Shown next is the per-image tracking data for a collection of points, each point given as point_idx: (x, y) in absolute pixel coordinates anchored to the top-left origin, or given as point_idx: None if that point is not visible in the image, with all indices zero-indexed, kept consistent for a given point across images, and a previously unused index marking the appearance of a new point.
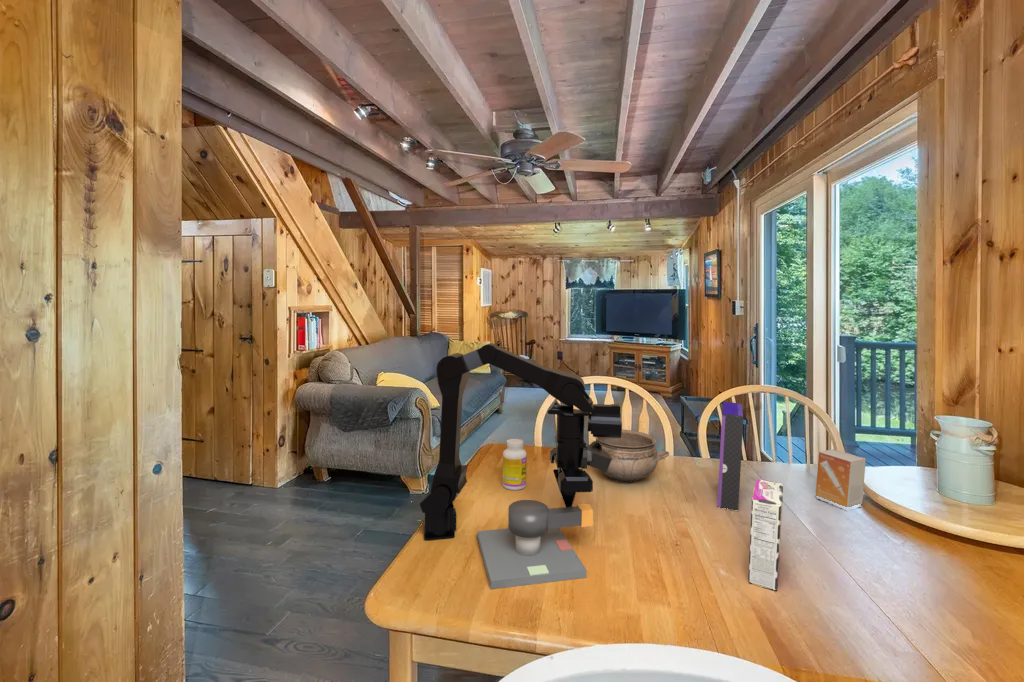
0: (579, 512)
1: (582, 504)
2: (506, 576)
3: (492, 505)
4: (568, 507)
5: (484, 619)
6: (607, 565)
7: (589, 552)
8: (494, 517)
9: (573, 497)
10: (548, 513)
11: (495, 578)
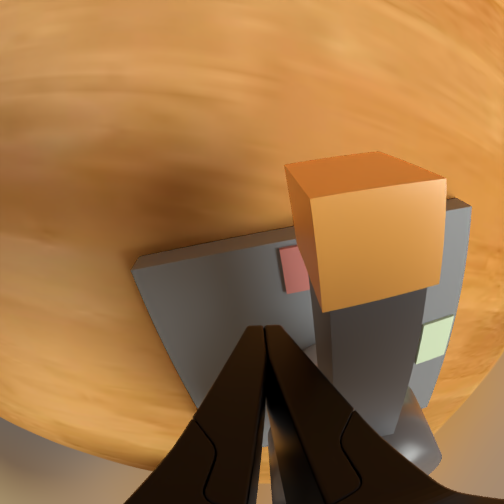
0: (422, 293)
1: (320, 262)
2: (426, 390)
3: (53, 398)
4: (340, 366)
5: (475, 383)
6: (407, 100)
7: (318, 142)
8: (109, 405)
9: (336, 398)
10: (394, 437)
11: (422, 403)
